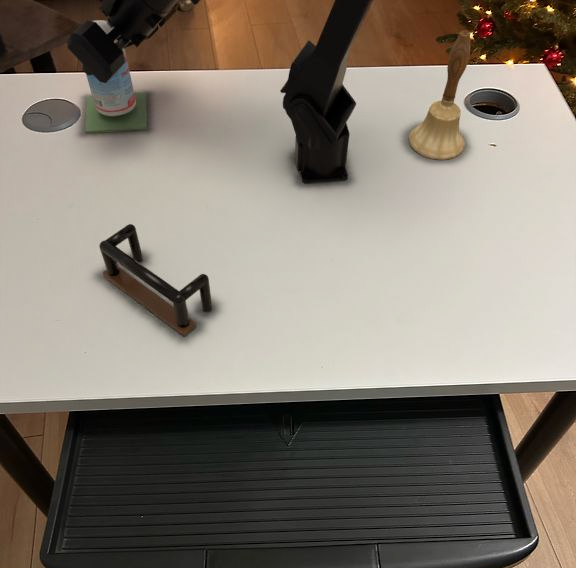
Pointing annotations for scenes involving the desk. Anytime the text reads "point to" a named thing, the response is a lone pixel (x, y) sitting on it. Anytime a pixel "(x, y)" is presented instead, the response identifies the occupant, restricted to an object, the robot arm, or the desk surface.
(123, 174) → the desk surface
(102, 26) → the pill bottle
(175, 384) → the desk surface
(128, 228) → the rail rack
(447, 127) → the hand bell
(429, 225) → the desk surface
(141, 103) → the felt mat
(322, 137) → the robot arm
